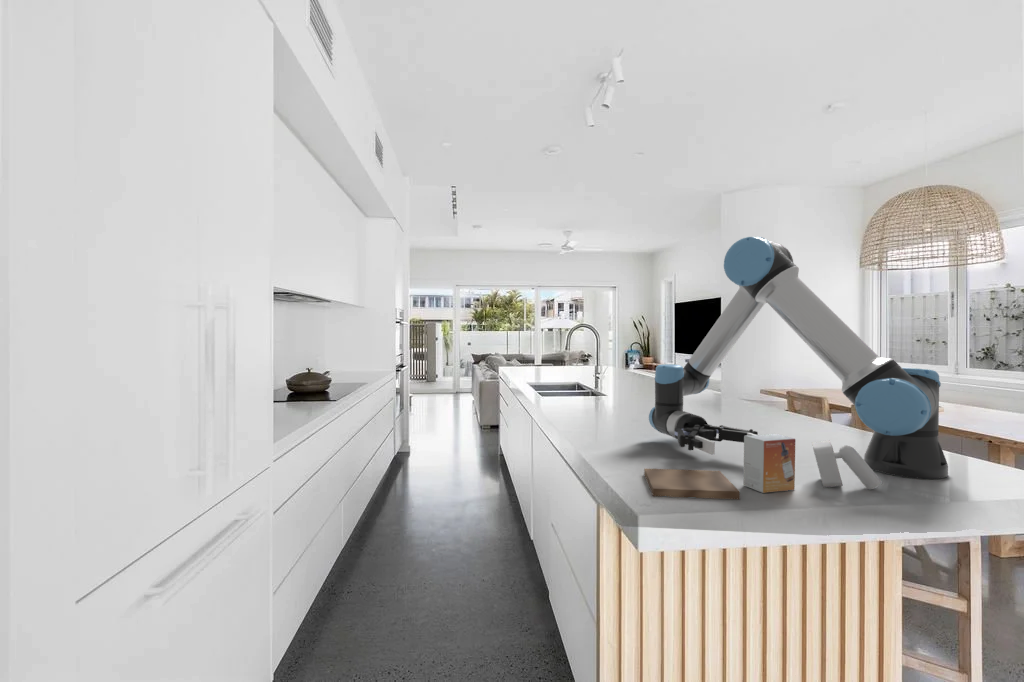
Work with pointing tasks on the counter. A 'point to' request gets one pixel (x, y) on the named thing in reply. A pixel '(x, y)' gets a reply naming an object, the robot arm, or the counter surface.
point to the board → (690, 484)
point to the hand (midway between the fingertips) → (740, 446)
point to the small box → (769, 462)
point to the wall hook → (851, 458)
